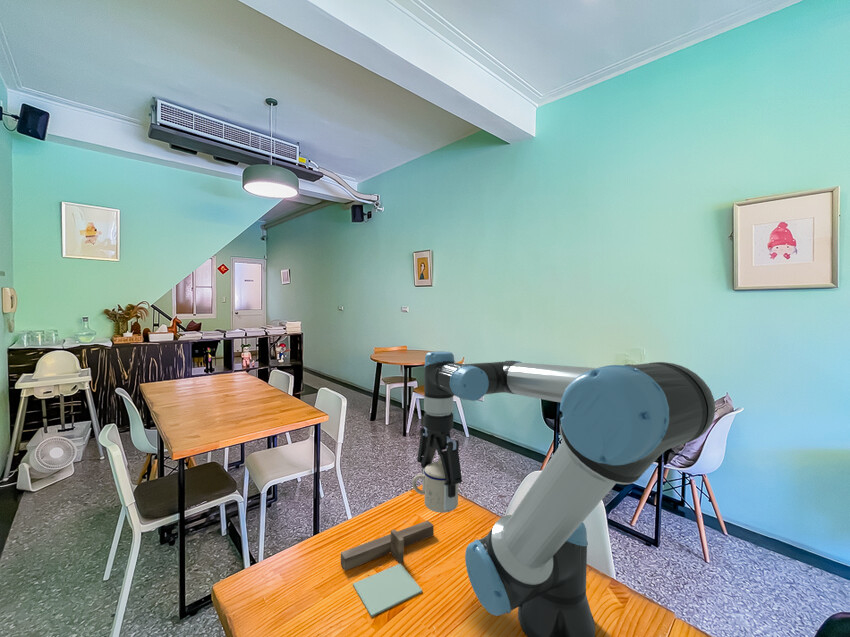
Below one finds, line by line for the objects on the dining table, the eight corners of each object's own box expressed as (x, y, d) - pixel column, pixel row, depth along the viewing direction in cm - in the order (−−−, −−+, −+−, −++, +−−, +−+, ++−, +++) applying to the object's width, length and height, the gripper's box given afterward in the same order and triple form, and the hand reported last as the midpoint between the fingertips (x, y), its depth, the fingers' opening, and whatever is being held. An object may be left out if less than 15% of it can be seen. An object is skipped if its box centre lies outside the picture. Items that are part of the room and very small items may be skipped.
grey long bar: (443, 545, 99) (443, 523, 99) (352, 583, 84) (352, 558, 84) (427, 530, 106) (428, 510, 106) (340, 563, 91) (340, 540, 91)
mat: (422, 591, 82) (422, 590, 82) (371, 617, 75) (371, 615, 75) (400, 564, 91) (400, 563, 91) (352, 585, 84) (352, 583, 84)
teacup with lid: (458, 496, 95) (459, 453, 95) (459, 515, 86) (459, 467, 86) (414, 493, 96) (415, 451, 96) (410, 512, 87) (410, 465, 87)
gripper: (478, 420, 83) (477, 515, 83) (427, 401, 101) (426, 479, 101) (452, 425, 79) (451, 525, 79) (404, 404, 97) (404, 486, 97)
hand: (437, 499), depth 90 cm, fingers closed on teacup with lid, 9 cm apart
